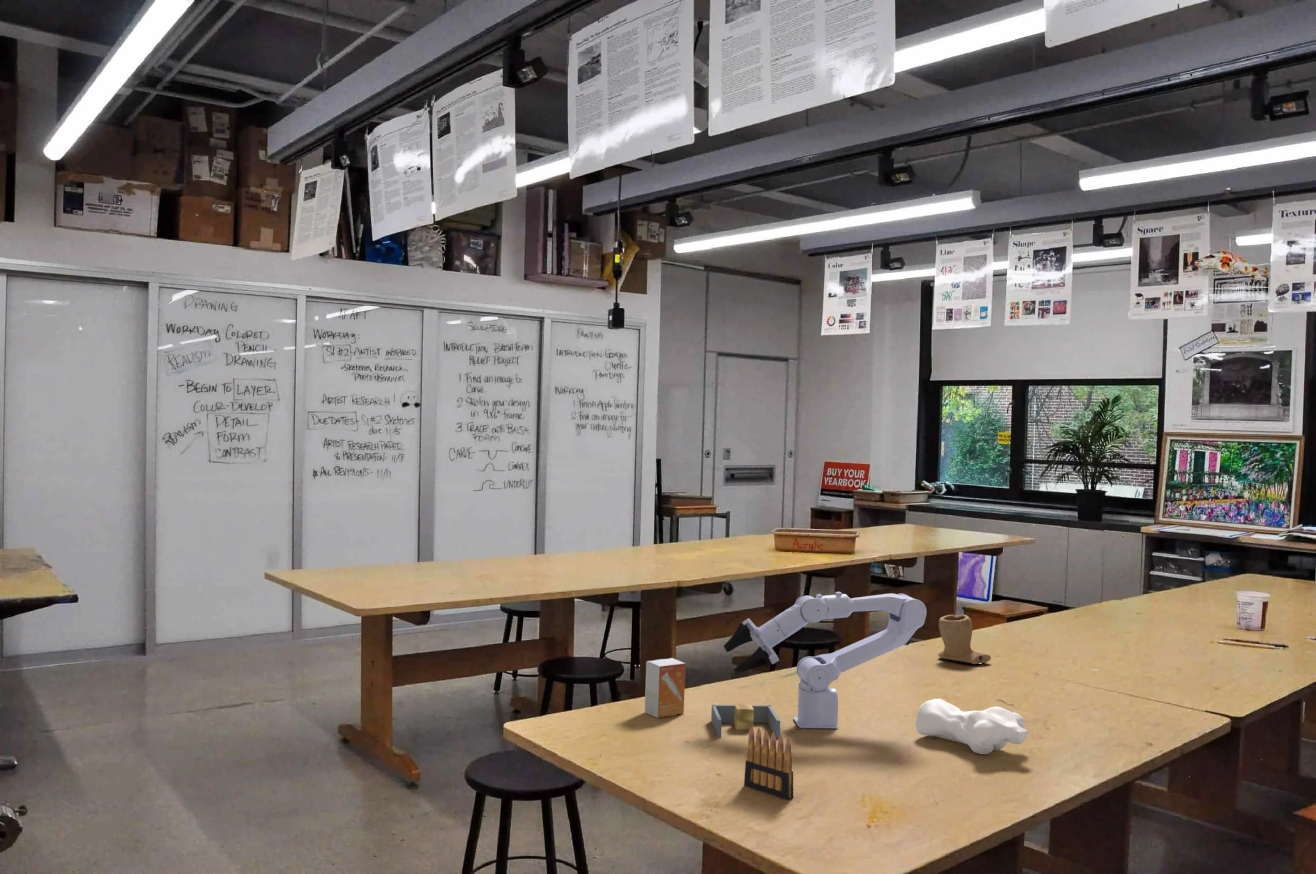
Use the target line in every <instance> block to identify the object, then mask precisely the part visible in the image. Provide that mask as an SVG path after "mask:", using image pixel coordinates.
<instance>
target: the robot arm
mask: <svg viewBox="0 0 1316 874" xmlns="http://www.w3.org/2000/svg"><path fill="white" fill-rule="evenodd" d="M871 611H872V612H874V611H885V612H887V613H888V623H887V627H886V629H884V630H881V631H880V632H879V631H878V632H876V633H875V634H872V635H869V636H868V637H865V638H863V639H861V640H858V641H856V642H854V643H852V644H850V645H847V646H845V647H843V648H841V649H837V650H835V651H834V652H831V653H823V654H819V655H816V656H805V657H802V658H801V659H800V660H799V661H798V663H797V666H796V673H797V676H798V678H799V679H800V681H799V684H798V692H797V693H798V695H797V697H798V699H797V700H798V701H797V716H793V720H794V721H795V723H796V725H797V726H798V727H799V728H800V729H838V728H839V725H838V722H839V721H838V718H839V711H838V710H839V697H838V692H837V689H836V688H834V687H829V686H830V685H831V684H832V683H833V682H834V681H836V680H839V678H840V676H841V674H842V673H844V672H846V671H849V670H852V669H853V668H856V667H858V666H860V665H862V664H864V663H866V662H869V661H871V660H874V659H876V658H878V657H881V656H883V655H884V654H886V653H890V652H892V651H894V650H895V649H898V648H901V647H903V646H905V645H906V644H907V643H908V641H909V640H910V639H911V638H912V636H913V635H915V633H916V631H917V630H918V629H919V628H921V627H923V626H924V624H925V622H926V617H927V613H928V612H927V607H926V605H925V603H924V602H922V600H920V599H916V598H914V597H911V596H909V595H908V594H905V593H898V594H896V593H883V594H876V595H866V596H861V597H859V596H858V597H853V598H851V597H849V596H848V595H847V594H846V593H842V592H841V591H835V592H834V594H829V595H822V594H821V593H819V594H818V593H817V594H816V596H815V597H813V596H812V595H804V596H803V595H802V596H799V597H798V598H797V599H796V600H795V602H794V604H793V605H792V606H790V607H788V608H787V609H785V610H784V611H782V612H780V613H779V614H778V615H776V616H774V617H773V618H771V619H770V620H768V621H767V622H765V623H764V624H762V625H760V626H759V627H757V626H756V625H755V624H754V622H753V621H752V620H751V619H750V618H747V619H745V620H744V621H742V622H740V623H739V624H738V627H737V628H736V630H735V632H734V633H733V634H732V635H731V637H730V638H729V639H728V640H727V642H726V643H724V644H723V648H724V650H725V651H726V652H727V653H729V652H732V651H734V650H735V649H736V648H738V647H739V646H742V645H744V644H747V643H749V642H753V641H755V642H756V643H757V645H758V647H757V649H756V650H755V651H754V652H753V653H752V654H751V655H750V656H749V657H748V658H746V659H745V660H743V661H742V662H740V663H739V664H738V665H737V668H738V670H739V672H740V673H744V672H747V671H750V670H753V669H757V668H768V667H770V666H771V664H772V665H774V664H776V663H777V662H779V661H780V659H779V657H778V655H777V654H776V652H775V650H774V649H773V647H775V646H776V645H778V644H780V643H781V642H783V641H784V640H786V639H788V638H789V637H791V635H794V634H795V633H796V632H798V631H799V630H801V629H802V628H803V627H805V626H807V625H808V624H809V623H815V624H817V623H819V622H820V621H822V620H830V619H831V620H832V619H833V620H834V619H842V618H843V619H844V618H848V617H850V616H851V614H852V613H853V612H854V613H855V612H871ZM753 639H754V640H753ZM770 663H771V664H770Z"/></svg>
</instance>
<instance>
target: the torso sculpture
mask: <svg viewBox="0 0 1316 874" xmlns="http://www.w3.org/2000/svg"><path fill="white" fill-rule="evenodd" d="M1025 723H1026V721H1025V719H1024V718H1023V716H1021V714H1019V713H1017V712H1012V711H1009V710H1008V709H1005V708H1003V707H1001V706H991V707H988V708H986V709H983V710H968V711H963V710H961V709H960V708H959V707H958V706H956V705H954V704H952V703H950V702H947V701H945V700H944V699H942V698H933V699H929V700H927V701H925V702H923V703H922V704H921V705H920V707H919V708H918V710H917V713H916V719H915V729H916V731H917V733H918V734H919V735H923V736H930V737H937V738H940V739H943V740H947V741H953V742H955V743H956V742H957V743H961V744H965V745H968V746H969V748H970V749H971V751H972V752H974V753H975V754H977V753H979V754H986V755H989V754H990V753H991V752H993V751H995V750H998V751H1000V750H1001V749H1003V748H1004V747H1006V745H1008V743H1011V744H1014V745H1020V744H1023V743H1024V742H1025V740H1026V738H1027V736H1028V733H1029V732H1028V730H1027V729H1025V725H1026V724H1025ZM993 749H994V750H993ZM979 754H978V755H979Z"/></svg>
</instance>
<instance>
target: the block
mask: <svg viewBox="0 0 1316 874" xmlns="http://www.w3.org/2000/svg"><path fill="white" fill-rule="evenodd" d="M734 705H735V718H734V722H733V724H734V727H735V729H736V731H750V728H751V726H752V727H753V728H754V722H753V720H754V709H753V707H752V705H753V704H734Z"/></svg>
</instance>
